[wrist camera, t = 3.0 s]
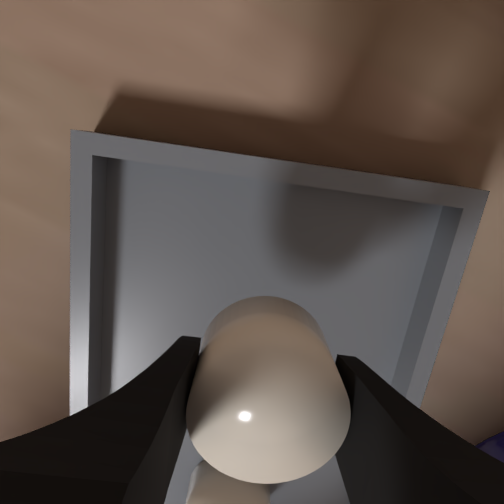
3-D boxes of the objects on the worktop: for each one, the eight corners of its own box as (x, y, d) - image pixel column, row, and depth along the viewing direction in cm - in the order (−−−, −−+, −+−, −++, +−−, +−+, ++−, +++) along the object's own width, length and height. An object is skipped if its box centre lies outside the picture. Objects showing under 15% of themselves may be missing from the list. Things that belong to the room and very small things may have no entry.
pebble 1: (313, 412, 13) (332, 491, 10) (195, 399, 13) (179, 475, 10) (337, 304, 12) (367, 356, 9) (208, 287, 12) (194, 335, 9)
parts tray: (345, 571, 22) (353, 611, 21) (85, 547, 22) (69, 586, 20) (460, 185, 16) (489, 190, 14) (93, 131, 15) (70, 129, 13)
